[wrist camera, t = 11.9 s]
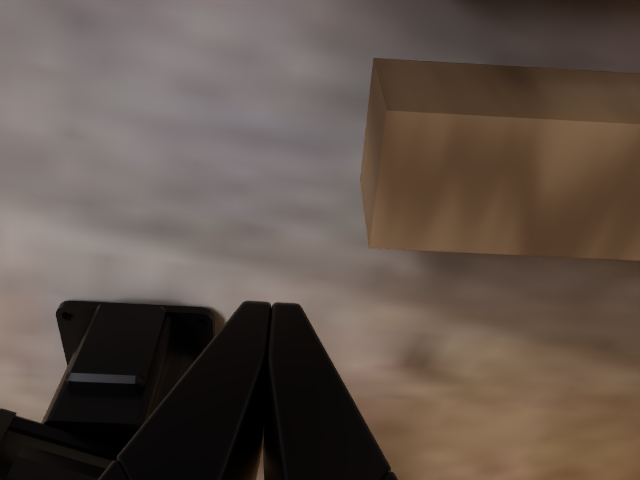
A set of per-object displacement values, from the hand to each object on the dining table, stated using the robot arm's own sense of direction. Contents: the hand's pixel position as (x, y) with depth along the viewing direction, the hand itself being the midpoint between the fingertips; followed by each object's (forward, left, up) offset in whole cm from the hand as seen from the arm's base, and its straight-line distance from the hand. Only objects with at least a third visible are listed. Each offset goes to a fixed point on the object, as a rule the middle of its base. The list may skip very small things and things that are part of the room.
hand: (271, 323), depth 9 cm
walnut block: (-2, -13, -11) cm, 17 cm away
